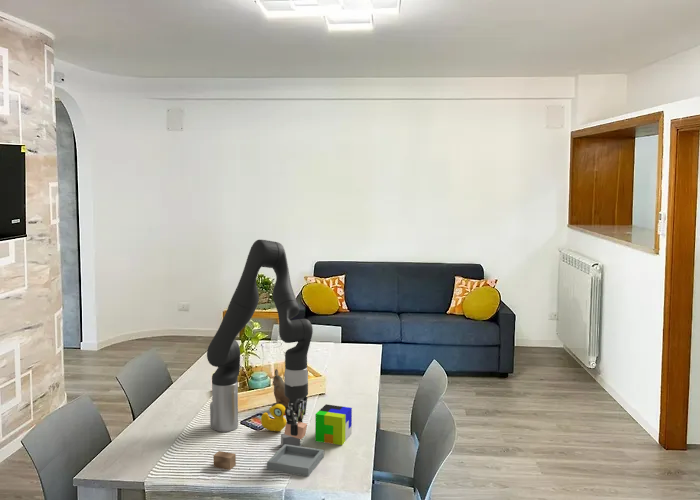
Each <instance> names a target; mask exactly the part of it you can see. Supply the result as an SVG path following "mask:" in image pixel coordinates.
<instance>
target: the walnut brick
mask: <svg viewBox="0 0 700 500" xmlns="http://www.w3.org/2000/svg"><path fill="white" fill-rule="evenodd" d="M212 457H213V468H217V469H223V470H228V471H231V470H232V469H233V468H234V467H236V465H237V462H236V461H237V459H236V453H233V452H227V451H222V450H218V451H217V452H216V453H215V454H213V456H212Z"/></svg>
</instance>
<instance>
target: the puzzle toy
mask: <svg viewBox="0 0 700 500" xmlns="http://www.w3.org/2000/svg"><path fill="white" fill-rule="evenodd" d="M352 409H353V407H348V406H347V407H346V406H341V405H333V404H325V405H324V406H322V407H321V408H320V409H319V410H318V411H317V412H316V413H315V417H314V418H315V422H314V423H315V433H314V434H315V442H319V443H324V442H325V443H324V444H332V445H338V446H343V445H344V444H345V443H346V442H347V440H348V439H349V438H350V437H351V436H352V433H353V432H352V430H353V429H352V428H353V427H352V426H353V425H352V423H353V422H352V415H353V413H352V412H353V410H352ZM344 442H345V443H344Z"/></svg>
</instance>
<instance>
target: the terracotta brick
mask: <svg viewBox="0 0 700 500" xmlns="http://www.w3.org/2000/svg"><path fill="white" fill-rule="evenodd" d="M307 426H308V423H305V422H303V421H302V422H299V421H298V435H297V436H293V435H291V424H287V421H286V426H285V427H284V433H283V434H285V435H289V436H292V437H295V438H298V439H300V440H302V439H304V437H305V436H306V435H307V434H306V433H307V428H308V427H307Z"/></svg>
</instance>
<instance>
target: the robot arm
mask: <svg viewBox="0 0 700 500" xmlns="http://www.w3.org/2000/svg"><path fill="white" fill-rule="evenodd" d="M286 253H287V252H286V250H285V248H284V245H283V244H282V243H280V242H278V241H272V240H267V239H257V240H255V241H254V242H253V243H252V245H251V247H250V249H249V253H248V255H247V257H246V258H247V259H246V262H245V264H244V267H243V271H242V273H241V276H240V278H239V281H238V282H237V283H238V284H237V286H236V288H235V290H234V293H233V295H232V296H231V299H230V301H229V304H228V306H227V309H226V311H225V314H224V316H223V318H222V320H221V323H220V325H219V327H218V329H217V331H216V333H215V334H214V336H213V338H212V339H211V342H210V343H209V345H208V347H207V351H206V358H207V362H208V363H209V364H210V365H211V366H213V367H216V370H215V371H214V372H213V374H212V376H211V397H212V399H211V402H210V403H209V411H210V412H209V415H210V416H209V417H210V420H209V421H210V422H209V423H210V425H209V426H210V429H213V430H214V431H216V432H231V431H234V430H236V429H237V428H239V404H238V403H239V399H238V398H239V397H238V396H239V395H238V394H239V391H238V389H239V388H238V384H239V383H238V382H239V381H238V377H239V375H240V369H241V368H240V367H241V348H240V345H239V343H238V341H237V340H236V337H237V336H238V335H239V334H240V333H241V331H242V330H243V329H244V328H245V327H246V325H248V323H249V321H251V319H252V318H253V315H254V314H255V312H256V309H257V307H258V304H259V301H260V296H259V295H260V294H259V290H258V286H257V278H258V274H259V271H260V269H261V268H267V269H268V268H269V269H273V271H274V273H275V276H276V277H275V278H276V280H275V284H274V287H273V289H272V298H273V301H274V302H273V303H274V305H275V309H276V311H277V314H278V315H277V316H278V330H279V331H278V335H279V337H280V340H281V341H282V342H284V343H286V344H293V343H296V345H294V346H293V347H291V348H288V349H287V350H286V351H285V353H284V365H285V366H284V375H283V376H284V379H283V381H284V384H285V396H286V397H288V398H289V404H288V407H289V408H288V409H285V415H286V416H285V419H286V422H287V424H291V435H293V436H297V435H298V421H299V422H303V419H304V416H306V413H307V404H308V394H309V373H308V353H309V348H310V345H311V341H312V339H313V333H314V332H313V331H314V329H313V325H312V323H311V321H310V320H309V319H307V318H299V319H293V318H295V317H297V316H298V314H300V313H299V312H300V307H299V304H298V300H297V297H296V295H295V293H294V289H293V286H292V283H291V276H290V270H289V264H288V259H287V254H286Z"/></svg>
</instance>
